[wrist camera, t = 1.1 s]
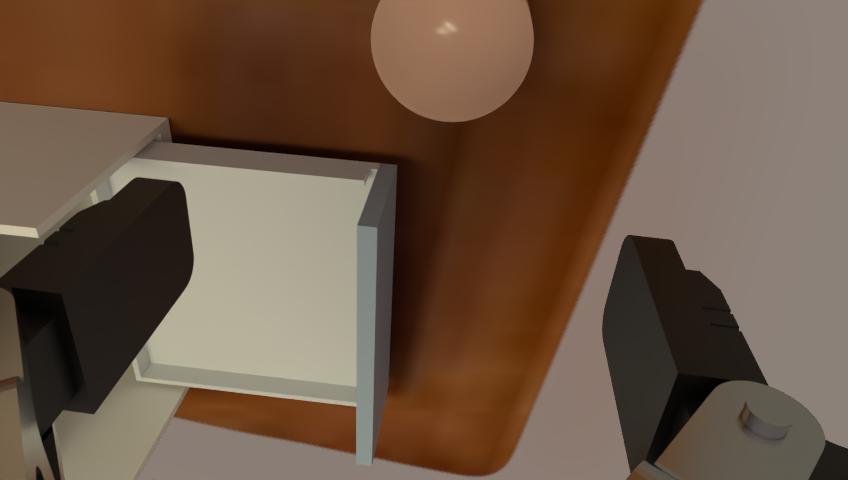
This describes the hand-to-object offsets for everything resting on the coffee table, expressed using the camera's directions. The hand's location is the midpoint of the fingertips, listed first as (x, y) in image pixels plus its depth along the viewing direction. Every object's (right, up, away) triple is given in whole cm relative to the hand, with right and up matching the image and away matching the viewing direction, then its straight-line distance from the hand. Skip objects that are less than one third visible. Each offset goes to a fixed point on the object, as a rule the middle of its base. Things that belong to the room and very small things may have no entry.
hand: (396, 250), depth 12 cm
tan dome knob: (+2, +8, +12) cm, 15 cm away
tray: (-8, -2, +22) cm, 24 cm away
